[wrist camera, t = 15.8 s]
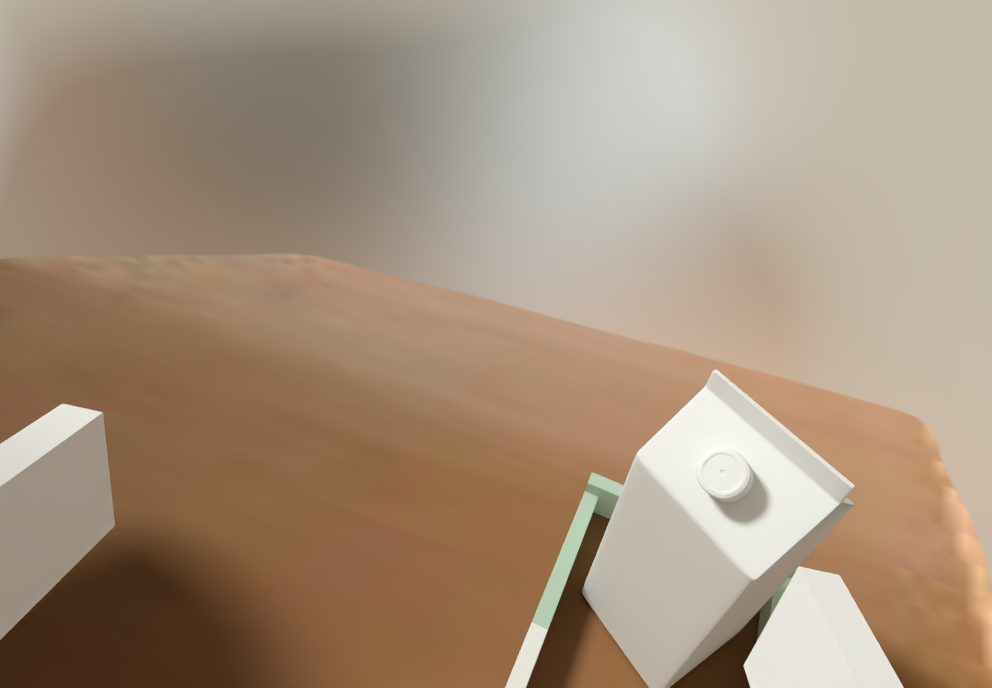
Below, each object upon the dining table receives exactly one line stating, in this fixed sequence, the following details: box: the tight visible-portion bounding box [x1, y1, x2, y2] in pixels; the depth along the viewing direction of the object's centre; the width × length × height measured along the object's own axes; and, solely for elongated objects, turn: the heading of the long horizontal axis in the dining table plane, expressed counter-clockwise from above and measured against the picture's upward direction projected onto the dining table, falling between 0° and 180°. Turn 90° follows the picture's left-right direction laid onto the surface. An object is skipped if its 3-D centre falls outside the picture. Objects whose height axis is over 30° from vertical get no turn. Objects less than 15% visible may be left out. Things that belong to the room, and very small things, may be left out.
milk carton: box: [582, 370, 855, 688], centre depth 31 cm, size 7×7×19 cm
